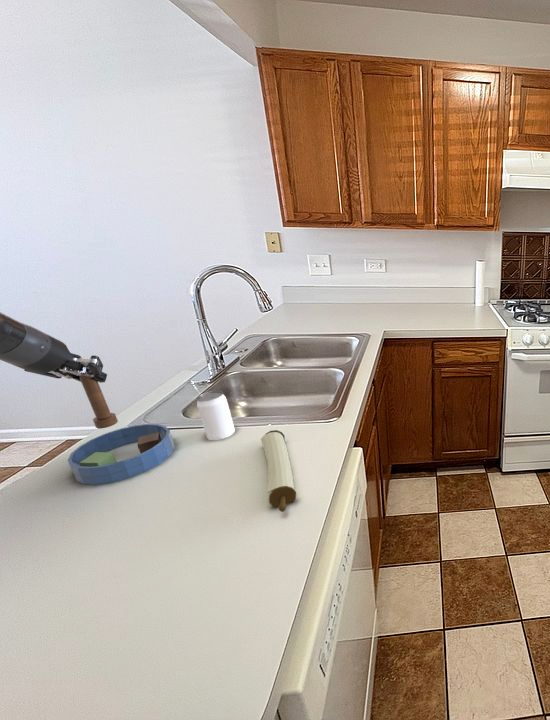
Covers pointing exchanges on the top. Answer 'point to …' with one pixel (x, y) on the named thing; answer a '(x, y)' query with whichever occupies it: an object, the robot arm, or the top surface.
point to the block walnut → (148, 441)
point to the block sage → (99, 459)
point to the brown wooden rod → (98, 403)
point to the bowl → (124, 467)
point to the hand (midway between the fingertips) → (96, 379)
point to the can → (215, 415)
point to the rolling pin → (278, 470)
